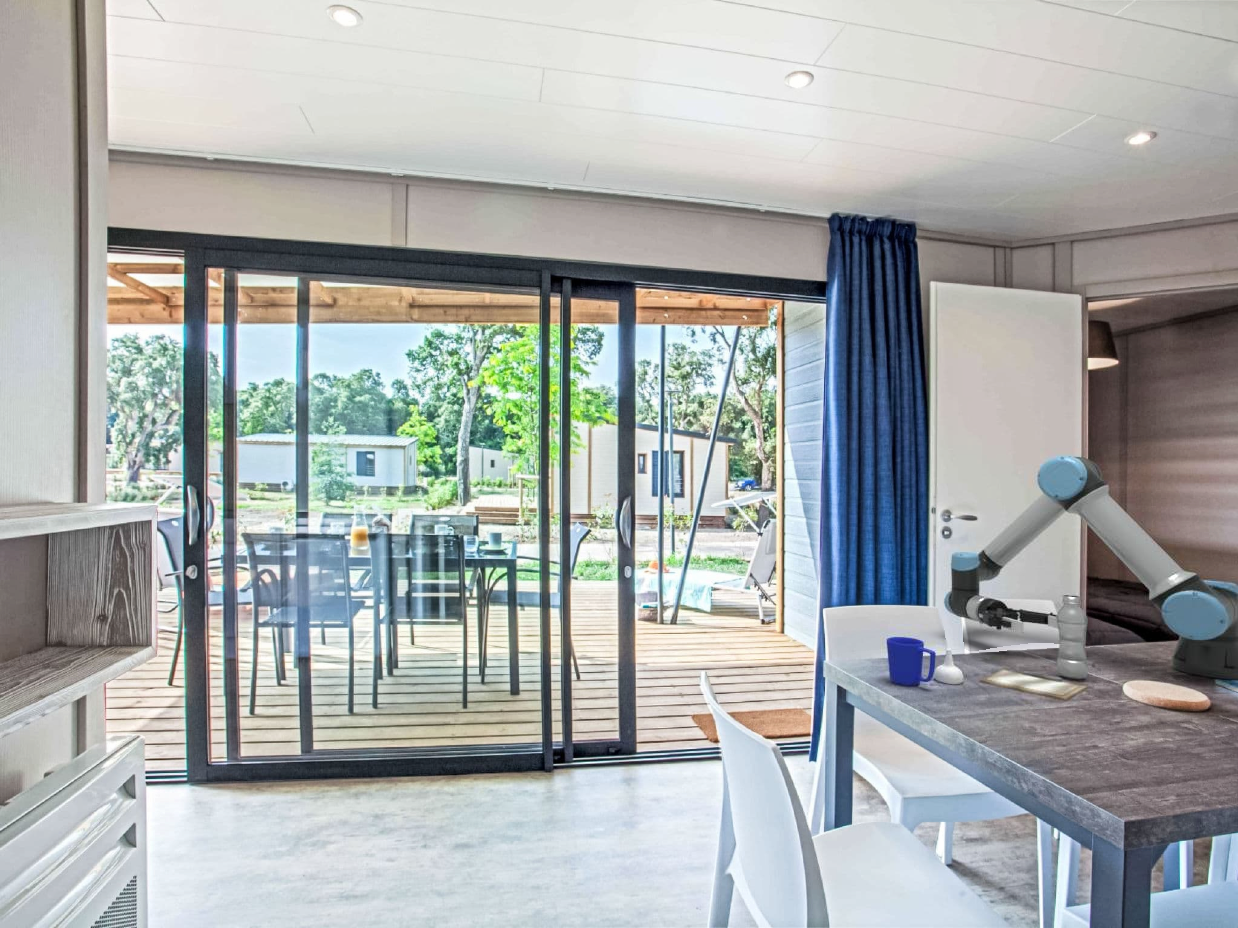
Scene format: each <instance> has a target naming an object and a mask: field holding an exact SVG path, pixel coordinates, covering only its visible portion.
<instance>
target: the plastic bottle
mask: <svg viewBox="0 0 1238 928" xmlns="http://www.w3.org/2000/svg"><path fill="white" fill-rule="evenodd" d="M1062 604H1063V605H1062V607H1061V608H1060V609H1059V610H1058V611H1057V613H1056V615H1057V616H1056V617H1057V624H1058V628H1057V630H1058V638H1059V639H1058V642H1059V646H1058V657H1057V658H1056V659H1057V660H1056V669H1057V672H1058V674H1059V675H1060V676H1062V677H1064V678H1067V679H1070V680H1083V679H1086V678H1087V676H1088V675H1089V664H1088V661H1087V653H1086V652H1087V651H1086V634H1087V627H1088V621H1089V620H1088V617H1087V614H1086V613H1085V612H1084V610H1083V609H1082V608H1081V606H1080V605H1082V602H1081V596H1079V595H1074V594H1063V595H1062Z"/></svg>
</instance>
